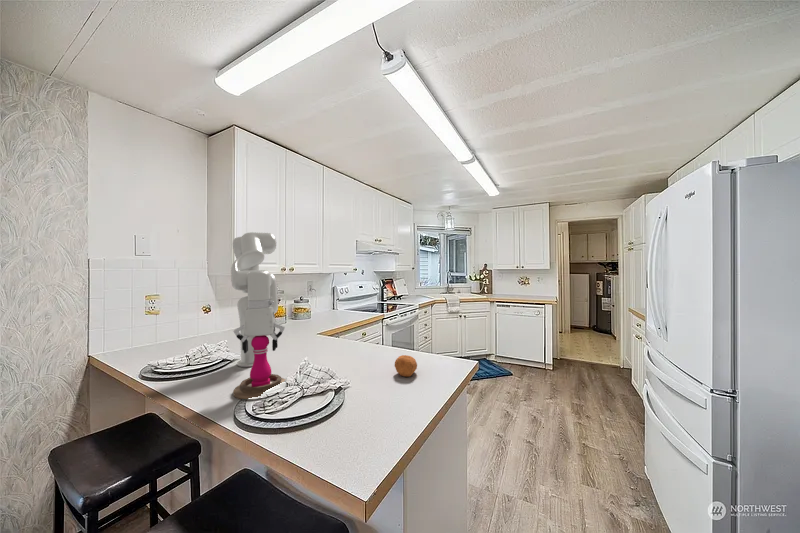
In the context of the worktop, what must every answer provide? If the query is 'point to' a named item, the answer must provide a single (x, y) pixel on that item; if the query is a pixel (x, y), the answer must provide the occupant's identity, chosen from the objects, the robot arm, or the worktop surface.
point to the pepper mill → (260, 362)
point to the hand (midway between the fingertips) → (260, 351)
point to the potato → (405, 365)
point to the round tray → (248, 391)
